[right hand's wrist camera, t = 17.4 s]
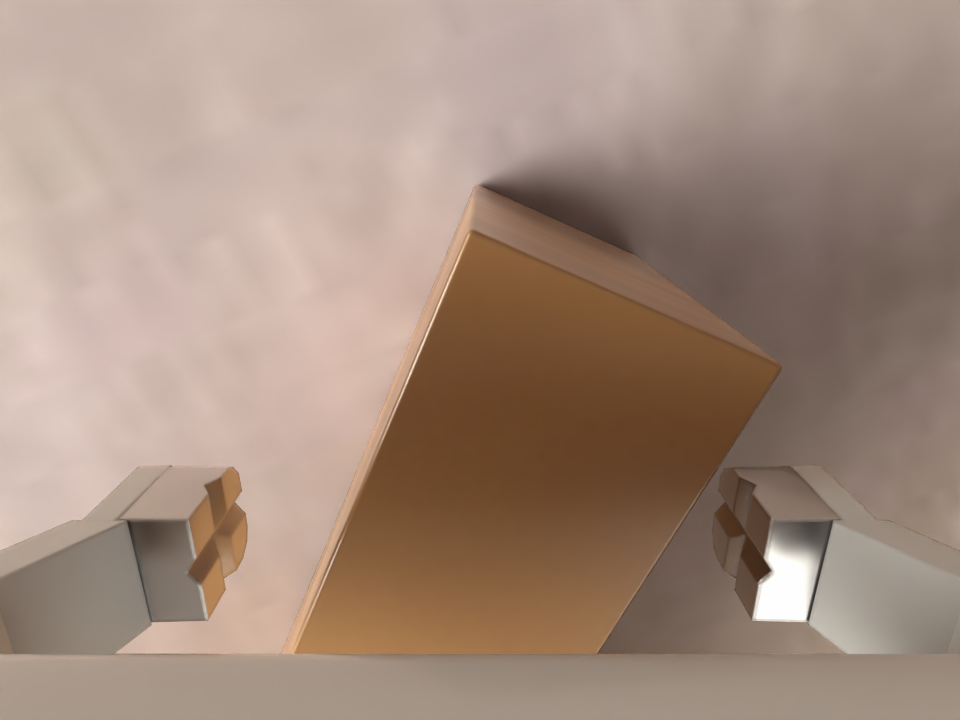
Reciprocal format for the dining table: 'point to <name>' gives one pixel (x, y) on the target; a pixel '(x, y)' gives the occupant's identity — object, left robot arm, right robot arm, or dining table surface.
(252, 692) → the right robot arm
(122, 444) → the dining table surface
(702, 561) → the dining table surface
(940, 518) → the dining table surface
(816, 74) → the dining table surface
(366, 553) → the bar
